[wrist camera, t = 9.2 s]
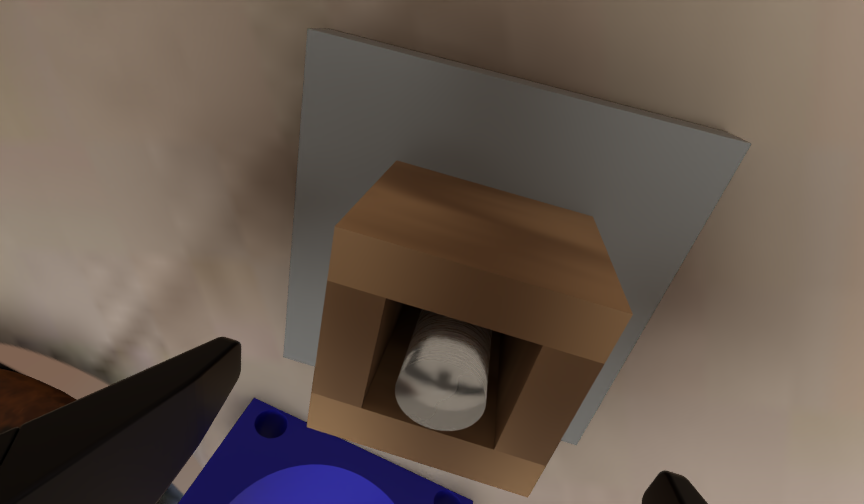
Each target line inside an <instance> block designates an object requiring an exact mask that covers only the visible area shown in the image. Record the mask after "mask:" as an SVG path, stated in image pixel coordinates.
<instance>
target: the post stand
mask: <svg viewBox="0 0 864 504" xmlns="http://www.w3.org/2000/svg"><path fill="white" fill-rule="evenodd" d="M750 146H751V143H749V142H747V141H745V140H743V139H741V138H739V137H737V136H734V135H732V134H730V133H728V132H726V131H722V130H718V129H714V128H710V127H706V126H702V125H699V124H695V123H691V122H687V121H683V120H679V119H675V118H672V117H668V116H664V115H660V114H656V113H652V112H648V111H644V110H641V109H637V108H633V107H629V106H625V105H621V104H617V103H614V102H610V101H606V100H602V99H598V98H594V97H590V96H587V95H583V94H579V93H575V92H571V91H567V90H563V89H560V88H556V87H552V86H548V85H544V84H540V83H536V82H533V81H529V80H525V79H521V78H517V77H513V76H509V75H505V74H502V73H498V72H494V71H490V70H486V69H482V68H478V67H475V66H471V65H467V64H463V63H459V62H455V61H451V60H448V59H444V58H440V57H436V56H432V55H428V54H424V53H421V52H417V51H413V50H409V49H405V48H401V47H397V46H394V45H390V44H386V43H382V42H378V41H374V40H370V39H366V38H363V37H359V36H355V35H351V34H347V33H343V32H339V31H336V30H332V29H313V28H308V29H307V43H306V56H305V70H304V83H303V97H302V111H301V124H300V138H299V151H298V165H297V178H296V192H295V206H294V219H293V233H292V246H291V260H290V274H289V287H288V301H287V314H286V328H285V341H284V355H283V357H285V358H288V359H291V360H295V361H298V362H301V363H305V364H308V365H311V366H314V367H315V363H316V356H317V349H318V342H319V335H320V328H321V321H322V314H323V306H324V299H325V292H326V285H327V278H328V271H329V264H330V257H331V249H332V242H333V235H334V228H335V225H336V224H337V223H338V222H339V221H340V220H341V219H342V218H343V217H344V216H345V215H346V214H347V213H348V212H349V211H350V209H351V208H352V207H353V206H354V205H355V204H356V203H357V202H358V201H359V200H360V199H361V198H362V197H363V196H364V195H365V193H366V192H367V191H368V190H369V189H370V188H371V187H372V186H373V185H374V184H375V183H376V182H377V181H378V180H379V178H380V177H381V176H382V175H383V174H384V173H385V172H386V171H387V170H388V169H389V168H390V167H391V166H392V165H393V164H394V162H395V161H396V160H397V161H401V162H404V163H408V164H411V165H415V166H418V167H422V168H425V169H429V170H432V171H436V172H439V173H443V174H446V175H450V176H453V177H457V178H460V179H464V180H467V181H471V182H474V183H478V184H481V185H485V186H488V187H492V188H495V189H499V190H502V191H505V192H509V193H512V194H516V195H519V196H523V197H526V198H530V199H533V200H537V201H540V202H544V203H547V204H551V205H554V206H558V207H561V208H565V209H568V210H572V211H575V212H579V213H582V214H586V215H589V216H593V218H594V220H595V223H596V225H597V228H598V230H599V233H600V235H601V238H602V240H603V243H604V245H605V247H606V250H607V252H608V255H609V257H610V260H611V262H612V265H613V267H614V269H615V272H616V274H617V277H618V279H619V282H620V284H621V287H622V289H623V291H624V294H625V296H626V299H627V301H628V304H629V306H630V309H631V311H632V314H633V315H632V317H631V319H630V320H629V322H628V324H627V326H626V327H625V329H624V331H623V333H622V334H621V336H620V338H619V340H618V341H617V343H616V345H615V347H614V348H613V350H612V352H611V354H610V355H609V357H608V359H607V361H606V362H605V364H604V366H603V367H602V369H601V371H600V373H599V374H598V376H597V378H596V380H595V381H594V383H593V385H592V387H591V388H590V390H589V392H588V394H587V395H586V397H585V399H584V401H583V402H582V404H581V406H580V408H579V409H578V411H577V413H576V415H575V416H574V418H573V420H572V422H571V423H570V425H569V427H568V429H567V430H566V432H565V434H564V435H563V437H562V439H561V441H564V442H567V443H571V444H574V445H577V443H578V442H579V440H580V438H581V436H582V435H583V433H584V431H585V430H586V428H587V426H588V424H589V423H590V421H591V419H592V418H593V416H594V414H595V412H596V411H597V409H598V407H599V406H600V404H601V402H602V400H603V399H604V397H605V395H606V393H607V392H608V390H609V388H610V387H611V385H612V383H613V381H614V380H615V378H616V376H617V375H618V373H619V371H620V369H621V368H622V366H623V364H624V362H625V361H626V359H627V357H628V356H629V354H630V352H631V350H632V349H633V347H634V345H635V344H636V342H637V340H638V338H639V337H640V335H641V333H642V331H643V330H644V328H645V326H646V325H647V323H648V321H649V319H650V318H651V316H652V314H653V313H654V311H655V309H656V307H657V306H658V304H659V302H660V301H661V299H662V297H663V295H664V294H665V292H666V290H667V288H668V287H669V285H670V283H671V282H672V280H673V278H674V276H675V275H676V273H677V271H678V270H679V268H680V266H681V264H682V263H683V261H684V259H685V257H686V256H687V254H688V252H689V251H690V249H691V247H692V245H693V244H694V242H695V240H696V239H697V237H698V235H699V233H700V232H701V230H702V228H703V227H704V225H705V223H706V221H707V220H708V218H709V216H710V214H711V213H712V211H713V209H714V208H715V206H716V204H717V202H718V201H719V199H720V197H721V196H722V194H723V192H724V190H725V189H726V187H727V185H728V183H729V182H730V180H731V178H732V177H733V175H734V173H735V171H736V170H737V168H738V166H739V165H740V163H741V161H742V159H743V158H744V156H745V154H746V152H747V151H748V149H749V147H750ZM491 337H492V330H490V329H487V328H483V327H480V326H477V325H473V324H470V323H467V322H463V321H460V320H457V319H454V318H450V317H447V316H444V315H440V314H437V313H434V312H430V311H427V310H424V309H421V312H420V315H419V318H418V321H417V324H416V327H415V330H414V333H413V336H412V338H411V341H410V344H409V347H408V350H407V353H406V356H405V359H404V362H403V365H402V368H401V370H400V373H399V376H398V379H397V382H396V385H395V396H396V400H397V402H398V404H399V406H400V408H401V409H402V411H403V412H404V413H405V414H406V415H407V416H408V417H409V418H411V419H412V420H413V421H415V422H417V423H418V424H420V425H423V426H425V427H428V428H431V429H435V430H440V431H455V430H460V429H464V428H467V427H469V426H471V425H473V424H474V423H475V422H477V421H478V420H479V419H480V417H481V416H482V415H483V413H484V410H485V407H486V396H487V384H488V372H489V361H490V349H491Z"/></svg>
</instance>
